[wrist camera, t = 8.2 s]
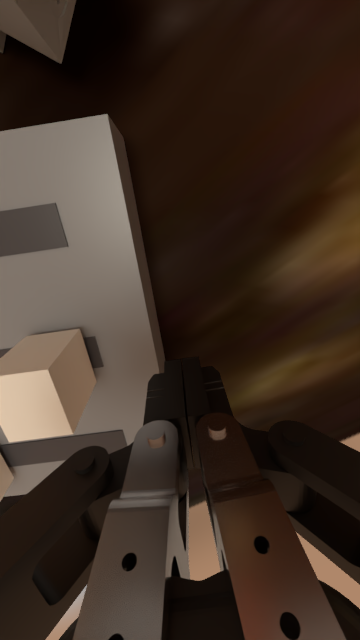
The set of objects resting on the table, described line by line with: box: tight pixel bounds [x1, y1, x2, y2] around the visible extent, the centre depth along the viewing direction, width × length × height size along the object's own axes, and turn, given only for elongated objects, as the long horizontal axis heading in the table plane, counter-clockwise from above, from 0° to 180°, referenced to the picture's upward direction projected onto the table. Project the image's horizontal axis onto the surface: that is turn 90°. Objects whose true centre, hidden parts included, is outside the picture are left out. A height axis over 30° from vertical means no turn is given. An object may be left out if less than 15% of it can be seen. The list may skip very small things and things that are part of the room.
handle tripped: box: [0, 329, 96, 442], centre depth 13 cm, size 3×4×4 cm
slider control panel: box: [0, 114, 165, 497], centre depth 17 cm, size 18×22×4 cm
